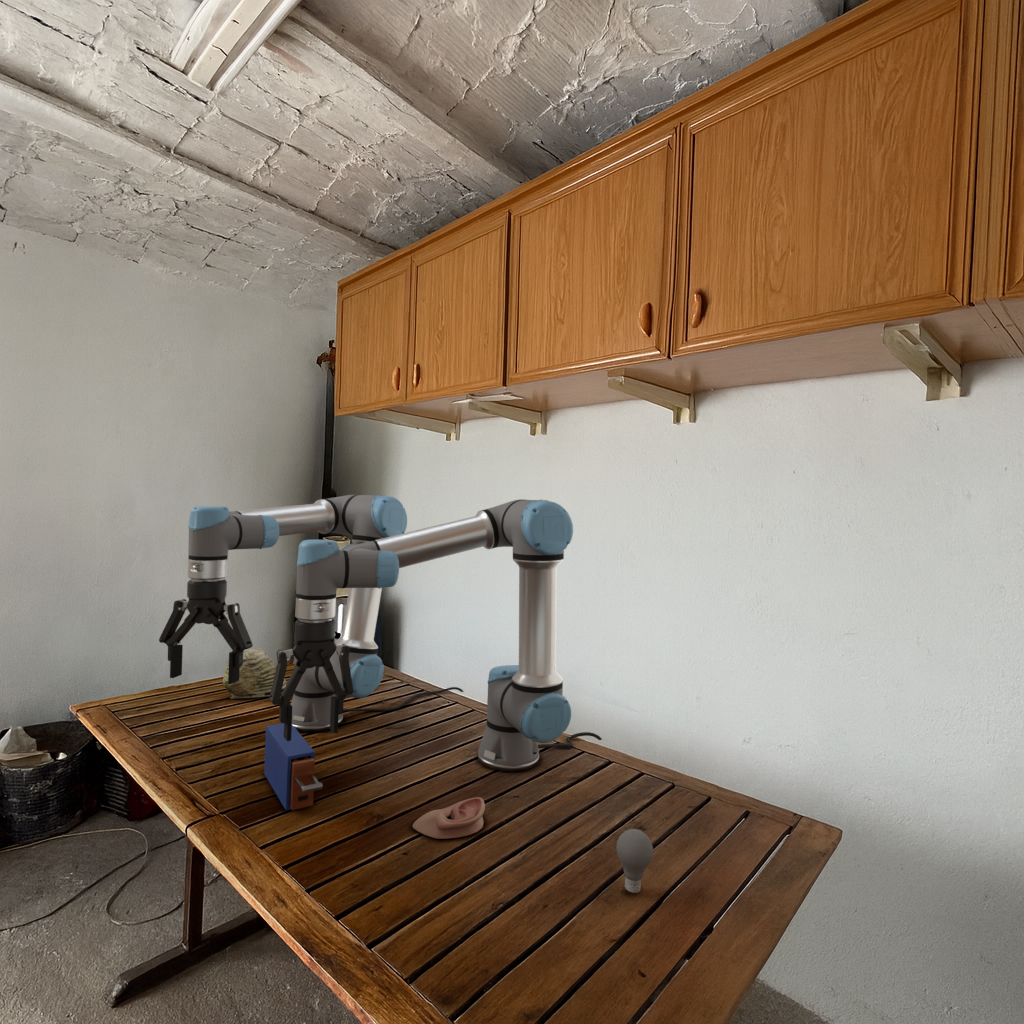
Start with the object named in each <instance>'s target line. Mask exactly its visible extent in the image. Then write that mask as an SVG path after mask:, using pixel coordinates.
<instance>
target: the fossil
mask: <svg viewBox="0 0 1024 1024" xmlns="http://www.w3.org/2000/svg"><path fill="white" fill-rule="evenodd" d="M276 667H277V664H276V663H275V662H274V660H273V659H272V658H271V657H270V656H269V655H268V654H267V653H266V652H265V650H264V649H263V648H260V647H258V648H248V649H246V650H244V651H243V665H242V666H240V671H239V681H237V682H235V683H233V684H228V672H229V659H228V660H227V663H226V666H225V668H224V671H223V675H222V676H223V677H222V685H223V687H224V688H225V690H226V691H228V693H229V698H230V699H250V698H264V697H270V693H271V689H272V685H273V680H274V676H275V672H276ZM286 684H287V680H286V678H284V682H283V686H282V691H281V694H282V693H283V691H284V688H285V686H286Z"/></svg>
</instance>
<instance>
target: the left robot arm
mask: <svg viewBox="0 0 1024 1024" xmlns="http://www.w3.org/2000/svg"><path fill="white" fill-rule="evenodd" d="M407 528H408V514H407V511H406V508H405V507H404V505H403V504H402V502H401V501H400V500H399V499H397V498H396V497H394V496H389V495H383V494H346V495H341V496H336V497H330V498H329V497H328V498H321V499H317V500H316V501H314V503H307V504H306V503H305V504H296V505H284V506H274V507H273V506H272V507H264V508H252V509H251V508H250V509H242V510H241V509H240V510H230V509H229V508H228V507H227V506H219V505H218V506H217V505H195V506H193V507H192V508H191V509H190V511H189V518H188V526H187V529H188V551H187V552H188V553H187V555H188V556H187V578H188V579H190V580H188V581H187V582H186V583H187V584H186V585H187V587H186V597H187V598H188V600H187V599H185V598H182V599H178V600H174V602H173V607H172V612H171V613H170V615H169V618H168V620H167V622H166V624H165V626H164V628H163V630H162V631H161V635H160V636H159V638H158V642H159V643H161V644H162V643H163V644H165V645H166V646H167V661H168V662H169V679H175V678H177V677H180V676H182V675H183V651H184V650H183V647H184V645H183V644H181V643H182V642H181V641H182V640H183V639H184V638H185V637H186V635H187V634H188V633H189V632H190V631H191V629H192V628H193V627H194V626H195V625H196V624H205V625H212V626H213V627H214V628H216V629H217V630H218V632H219V633H220V635H221V636H222V637H223V639H224V640H225V642H226V643H227V645H228V647H229V648H230V649H231V651H229V652H228V660H229V672H228V684H233V683H235V682H237V681H239V671H240V666H242V665H243V651H244V650H246V649H248V648H250V649H252V648H253V646H254V644H253V642H252V639H251V637H250V634H249V632H248V629H247V627H246V624H245V622H244V619H243V617H242V615H241V609H240V608H241V606H240V603H238V602H236V603H231V604H227V603H226V597H227V594H228V593H227V591H228V581H227V579H225V578H227V577H228V563H229V562H228V558H229V551H233V550H255V549H256V550H257V549H258V550H262V549H268V548H272V547H274V546H275V545H276V544H277V542H278V541H279V538H280V537H284V536H292V535H298V534H299V535H300V534H306V533H313V532H317V533H319V534H322V535H327V534H339V535H340V534H341V535H348V536H351V543H352V544H361V543H366V542H370V541H375V540H378V539H382V538H386V537H390V536H395V535H399V534H403V533H406V530H407ZM382 589H383V588H380V589H378V588H348V592H347V593H348V594H347V599H346V601H347V602H346V604H345V605H346V606H345V612H344V618H343V623H342V624H343V625H342V629H341V636H339V638H335V639H334V641H335V644H336V645H342V644H345V645H347V646H348V647H350V653H349V665H350V671H351V678H352V685H353V693H352V694H351V695H347V696H346V698H355V699H365V698H367V697H369V695H371V694H373V693H374V691H375V690H377V688H378V687H379V686H380V684H381V682H382V679H383V677H384V672H385V665H384V663H383V660H382V659H381V657H380V656H378V652H379V646H378V645H377V643H376V642H375V636H376V635H375V633H376V628H377V622H378V616H379V610H380V603H381V597H382V591H383V590H382ZM186 611H188V613H189V614H188V615H187V616H186V617H185V618H184V615H185V613H186ZM226 615H227V616H226ZM183 618H184V619H183ZM182 620H183V622H182V623H181V621H182ZM229 622H230V623H229ZM180 623H181V625H180ZM179 625H180V626H179ZM293 659H294V661H293V662H294V666H295V664H296V662H297V659H296V658H295V656H293ZM330 662H331V664H332V666H333V670H334V672H335V674H336V676H337V679H338V681H339V683H340V686H341V688H343V682H342V675H341V669H340V662H339V655H337V651H335V652H334V654H333V655H332V656H331V658H330ZM294 666H293V667H294ZM452 690H457V691H459V692H460V693H464V691H465V690H463V689H462V688H460V687H458V686H450V687H447V688H444V689H440V690H433V691H426V692H425V691H423V692H420V693H415V694H414V695H412V696H410V697H409V698H408V699H406V700H404V701H403V702H402V703H400V704H398V705H396V706H393V707H387V708H386V707H385V708H384V707H383V708H376V707H375V708H372V707H370V708H367V707H366V708H343V712H344V713H346V712H389V711H395V710H398V709H400V708H402V707H404V705H406V704H408V703H409V702H411V701H412V700H413V699H415V698H418V697H421V696H424V695H425V696H426V695H435V694H440V693H444V692H448V691H452ZM333 696H335V697H336V695H335V693H334V691H333V689H332V686H331V684H330V682H329V680H328V677H327V675H326V673H325V671H324V668H323V667H313V668H308V669H306V671H305V673H304V674H303V675H302V677H301V679H300V681H299V683H298V685H297V688H296V690H295V692H294V694H293V696H292V698H291V701H290V704H291V706H292V725H293V726H294V727H295V728H296V730H297V731H298V732H301V733H316V732H325V731H329V730H330V710H331V697H333ZM343 722H344V714H343V713H342V714H339V715H338V727H339V726H340V725H342V723H343Z"/></svg>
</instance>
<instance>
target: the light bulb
mask: <svg viewBox="0 0 1024 1024" xmlns="http://www.w3.org/2000/svg"><path fill="white" fill-rule="evenodd" d="M615 849H616V854H617V857H618V859H619V861H620V863H621V865H622V867H623V873H624V874H623V875H624V876H625V878H624V888H625V890H627V891H628V892H630V893H634V894H635V893H639V892H640V891H641V889H642V887H641V886H642V879H643V877H644V875H645V871H646V868H647V867H648V866H649V864H650V863H651V861H652V859H653V855H654V847H653V843H652V841H651V838H649V836H648V835H647V834H646V833H645V832H643V831H642V830H641V829H636V828H629V829H627V830H625V831H623V832H622V833H621V834H620V835H619V837H618V839H617V841H616V847H615Z"/></svg>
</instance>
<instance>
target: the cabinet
mask: <svg viewBox="0 0 1024 1024" xmlns="http://www.w3.org/2000/svg"><path fill="white" fill-rule="evenodd" d="M264 741H265V743H264V771H263V775H264V776H265V778H266V779H267V781H268V783H269V784H270V787H271V788H272V789H273V791H274V793H275V795H276V796H277V798H278V799H279V801H280V803H281V805H282V806H283V808H284V810H285V811H289V810H291V808H290V806H291V801H290V779H291V759H295V758H300V757H306V756H308V759H311V758H313V759H314V760H315V754H316V752H315V749H313V747H312V746H311V745H310V744H309V742H307V740H306V739H305V738H304V737H303V735H301V733H300V731H297V730H296V728H295V727H294V726H293V725H292V732H291V741H287V740H286V739H285V738H284V723H276V724H270V725H266V726H265V740H264Z"/></svg>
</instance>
